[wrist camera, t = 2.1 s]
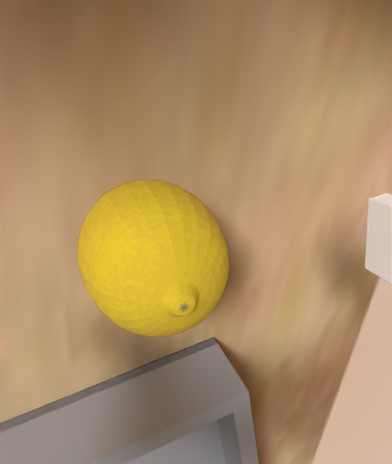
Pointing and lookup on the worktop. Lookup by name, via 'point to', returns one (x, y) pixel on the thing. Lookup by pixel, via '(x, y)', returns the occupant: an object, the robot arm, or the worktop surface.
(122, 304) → the lemon
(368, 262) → the robot arm
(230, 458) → the box
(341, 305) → the worktop surface
